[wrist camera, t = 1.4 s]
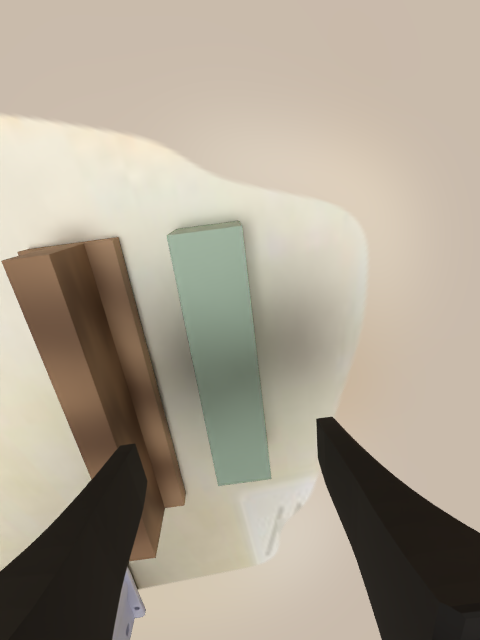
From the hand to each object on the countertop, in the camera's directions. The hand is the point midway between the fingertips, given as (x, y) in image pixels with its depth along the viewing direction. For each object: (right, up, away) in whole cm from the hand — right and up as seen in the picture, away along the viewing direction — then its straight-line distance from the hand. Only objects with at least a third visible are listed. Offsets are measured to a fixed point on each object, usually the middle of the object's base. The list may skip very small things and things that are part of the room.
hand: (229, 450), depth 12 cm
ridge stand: (-8, 0, +9) cm, 11 cm away
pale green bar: (0, +3, +8) cm, 9 cm away
